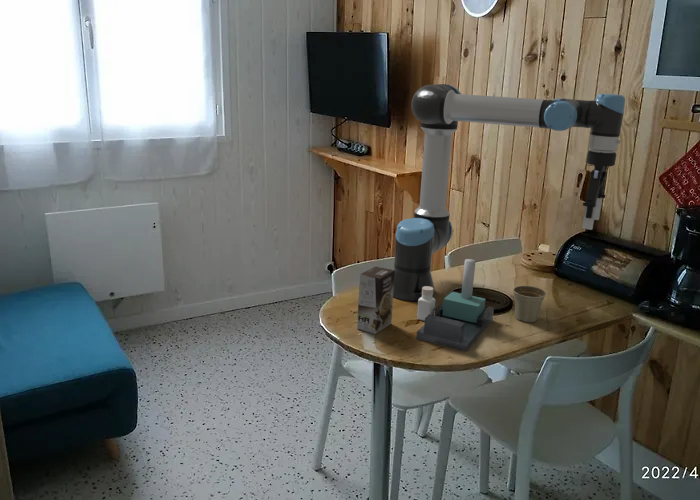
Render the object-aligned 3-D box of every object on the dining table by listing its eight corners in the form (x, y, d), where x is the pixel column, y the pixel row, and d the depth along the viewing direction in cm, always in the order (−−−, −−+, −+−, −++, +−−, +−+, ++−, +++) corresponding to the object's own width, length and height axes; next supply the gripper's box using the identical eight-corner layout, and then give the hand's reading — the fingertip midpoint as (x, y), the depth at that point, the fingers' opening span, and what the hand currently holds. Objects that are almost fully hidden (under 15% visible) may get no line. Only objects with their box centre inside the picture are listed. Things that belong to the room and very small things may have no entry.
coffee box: (376, 334, 165) (379, 278, 160) (356, 328, 168) (358, 273, 163) (392, 323, 172) (395, 269, 167) (372, 318, 175) (375, 265, 171)
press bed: (416, 338, 163) (417, 316, 161) (447, 309, 184) (448, 289, 182) (466, 351, 157) (468, 328, 155) (492, 320, 177) (495, 299, 175)
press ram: (442, 315, 174) (447, 261, 169) (450, 307, 179) (455, 255, 175) (476, 323, 169) (482, 268, 164) (483, 314, 175) (489, 262, 170)
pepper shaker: (416, 319, 176) (418, 288, 173) (422, 314, 179) (424, 284, 176) (428, 322, 174) (431, 291, 171) (434, 318, 177) (437, 287, 174)
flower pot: (525, 327, 173) (528, 299, 171) (502, 315, 181) (506, 288, 179) (549, 322, 178) (553, 294, 175) (526, 310, 186) (530, 283, 183)
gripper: (611, 157, 159) (598, 235, 165) (621, 147, 180) (609, 217, 186) (581, 154, 162) (569, 231, 168) (594, 145, 183) (583, 213, 189)
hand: (590, 224), depth 177 cm, fingers open, 13 cm apart
